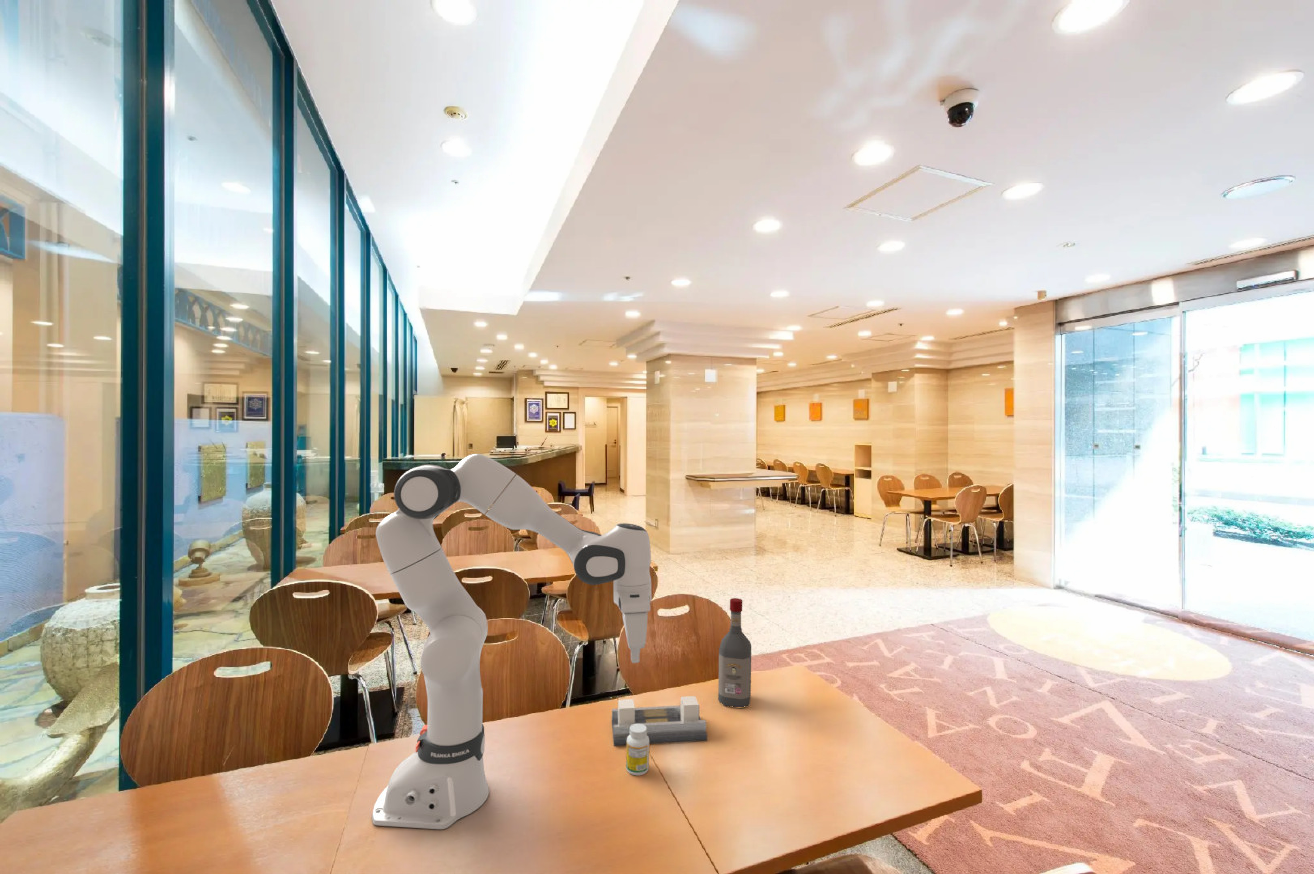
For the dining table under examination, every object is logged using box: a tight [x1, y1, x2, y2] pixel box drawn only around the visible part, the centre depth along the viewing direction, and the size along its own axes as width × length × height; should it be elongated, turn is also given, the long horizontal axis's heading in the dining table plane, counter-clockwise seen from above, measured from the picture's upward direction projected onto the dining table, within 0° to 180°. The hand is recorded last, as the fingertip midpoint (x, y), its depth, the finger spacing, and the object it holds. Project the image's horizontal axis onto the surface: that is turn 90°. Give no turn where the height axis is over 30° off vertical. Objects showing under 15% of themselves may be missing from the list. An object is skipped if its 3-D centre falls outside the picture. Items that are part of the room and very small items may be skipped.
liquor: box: [717, 597, 752, 708], centre depth 159 cm, size 9×9×30 cm
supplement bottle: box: [625, 724, 650, 776], centre depth 125 cm, size 5×5×10 cm
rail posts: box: [617, 695, 700, 725], centre depth 142 cm, size 21×5×6 cm, turn 98°
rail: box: [611, 704, 708, 747], centre depth 142 cm, size 24×12×4 cm, turn 98°
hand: (633, 653), depth 124 cm, fingers open, 8 cm apart
